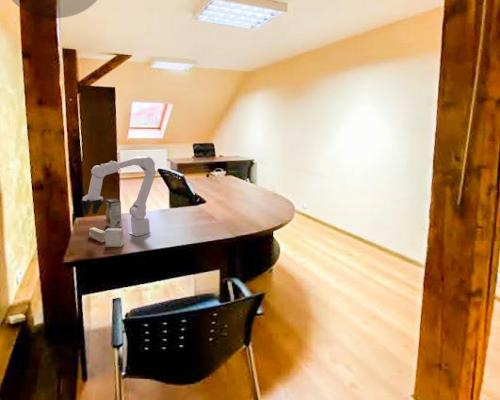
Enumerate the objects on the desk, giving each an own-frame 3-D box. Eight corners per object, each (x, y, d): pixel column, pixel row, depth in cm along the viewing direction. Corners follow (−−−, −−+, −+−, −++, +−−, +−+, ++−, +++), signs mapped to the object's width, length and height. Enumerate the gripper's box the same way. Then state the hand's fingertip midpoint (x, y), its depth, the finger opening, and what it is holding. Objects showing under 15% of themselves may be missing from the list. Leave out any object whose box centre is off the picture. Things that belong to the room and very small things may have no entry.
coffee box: (106, 225, 223) (104, 199, 220) (116, 223, 228) (115, 198, 224) (111, 228, 217) (109, 202, 213) (122, 226, 221) (120, 200, 217)
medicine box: (123, 244, 191) (123, 228, 189) (121, 247, 187) (120, 230, 185) (108, 244, 191) (107, 228, 189) (105, 247, 187) (104, 230, 185)
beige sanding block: (94, 236, 203) (94, 227, 202) (106, 240, 196) (106, 231, 195) (89, 237, 201) (88, 228, 200) (101, 242, 194) (100, 233, 193)
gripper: (96, 187, 198) (91, 211, 199) (79, 186, 184) (74, 212, 185) (108, 189, 197) (103, 214, 198) (91, 189, 183) (86, 216, 184)
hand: (90, 214), depth 191 cm, fingers open, 7 cm apart
